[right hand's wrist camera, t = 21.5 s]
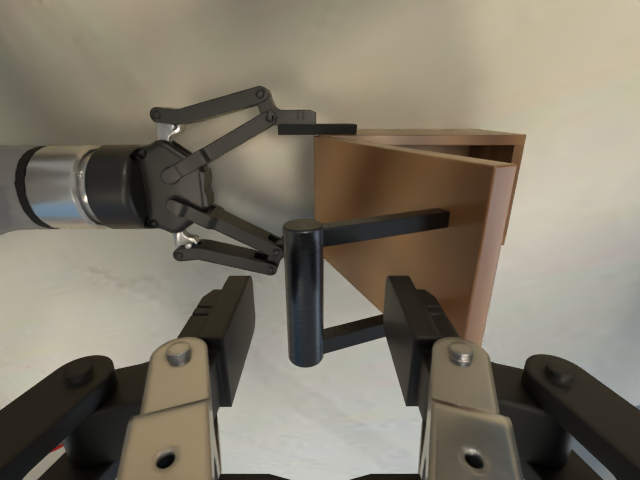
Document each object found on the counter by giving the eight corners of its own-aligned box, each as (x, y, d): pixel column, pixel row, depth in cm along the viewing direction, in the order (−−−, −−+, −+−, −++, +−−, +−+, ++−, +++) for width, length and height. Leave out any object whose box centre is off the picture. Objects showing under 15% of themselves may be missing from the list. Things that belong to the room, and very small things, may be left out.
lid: (518, 164, 12) (303, 181, 9) (476, 377, 15) (309, 439, 12) (326, 135, 27) (220, 139, 24) (326, 248, 30) (233, 262, 27)
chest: (477, 129, 35) (526, 134, 27) (463, 216, 39) (504, 245, 30) (319, 129, 35) (319, 135, 27) (319, 217, 39) (320, 246, 30)
